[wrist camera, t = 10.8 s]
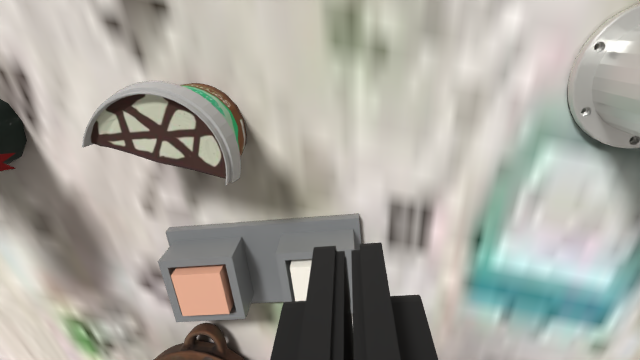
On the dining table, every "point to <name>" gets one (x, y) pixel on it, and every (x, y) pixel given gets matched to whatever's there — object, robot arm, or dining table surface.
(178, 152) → the grey arched window
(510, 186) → the dining table surface
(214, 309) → the key terracotta
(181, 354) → the dish
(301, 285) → the key cream
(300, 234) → the key panel
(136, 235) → the dining table surface
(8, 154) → the wine bottle
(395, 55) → the dining table surface
